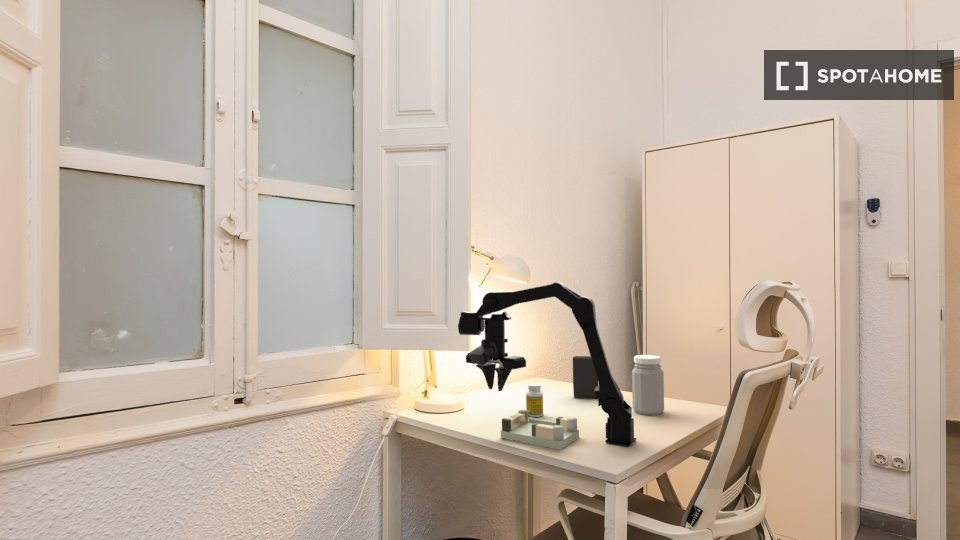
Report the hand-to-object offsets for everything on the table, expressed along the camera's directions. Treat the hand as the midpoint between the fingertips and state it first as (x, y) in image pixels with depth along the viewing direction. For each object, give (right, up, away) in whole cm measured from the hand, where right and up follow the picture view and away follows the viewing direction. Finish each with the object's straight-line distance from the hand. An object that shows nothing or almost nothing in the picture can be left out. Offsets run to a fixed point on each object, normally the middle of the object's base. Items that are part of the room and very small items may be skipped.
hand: (495, 390), depth 144 cm
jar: (+50, -12, +19) cm, 55 cm away
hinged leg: (+6, -10, -2) cm, 11 cm away
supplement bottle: (+13, -12, +18) cm, 25 cm away
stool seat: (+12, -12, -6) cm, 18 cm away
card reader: (+35, -13, +41) cm, 55 cm away
